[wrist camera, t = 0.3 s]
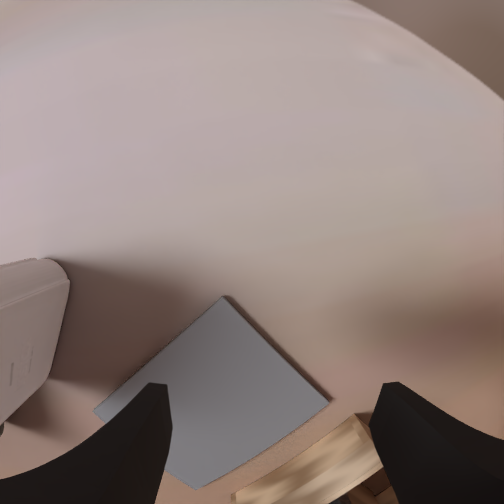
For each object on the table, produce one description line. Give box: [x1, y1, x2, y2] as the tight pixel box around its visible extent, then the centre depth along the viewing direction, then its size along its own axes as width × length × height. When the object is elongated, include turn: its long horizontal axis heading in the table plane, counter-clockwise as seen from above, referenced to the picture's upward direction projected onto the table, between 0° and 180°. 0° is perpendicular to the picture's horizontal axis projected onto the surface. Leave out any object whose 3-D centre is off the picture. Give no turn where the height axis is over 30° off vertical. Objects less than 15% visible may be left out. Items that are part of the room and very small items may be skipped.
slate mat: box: [93, 296, 329, 490], centre depth 20 cm, size 14×11×1 cm
